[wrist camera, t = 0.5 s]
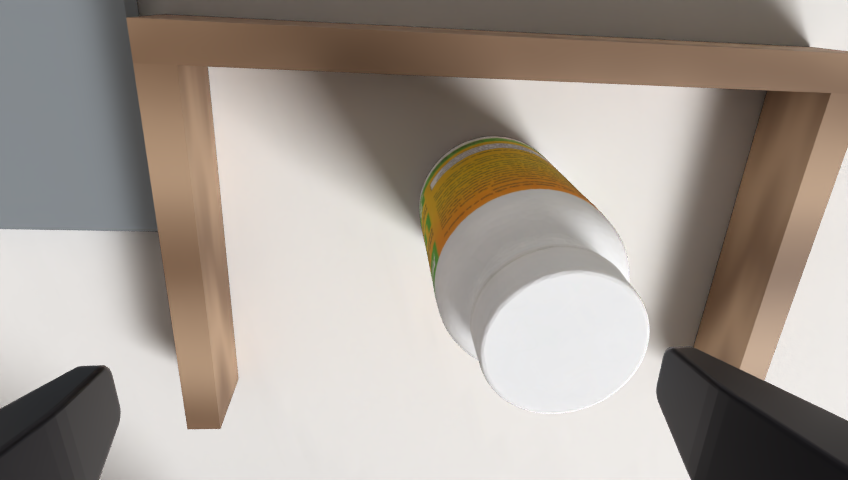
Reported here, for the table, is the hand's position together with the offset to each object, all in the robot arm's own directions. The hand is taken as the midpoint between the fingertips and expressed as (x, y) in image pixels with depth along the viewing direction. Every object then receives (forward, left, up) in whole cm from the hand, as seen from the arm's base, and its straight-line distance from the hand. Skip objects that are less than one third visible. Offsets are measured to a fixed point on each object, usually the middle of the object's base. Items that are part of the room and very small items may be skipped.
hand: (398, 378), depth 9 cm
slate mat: (+3, +12, -13) cm, 17 cm away
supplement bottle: (-1, -4, -13) cm, 13 cm away
